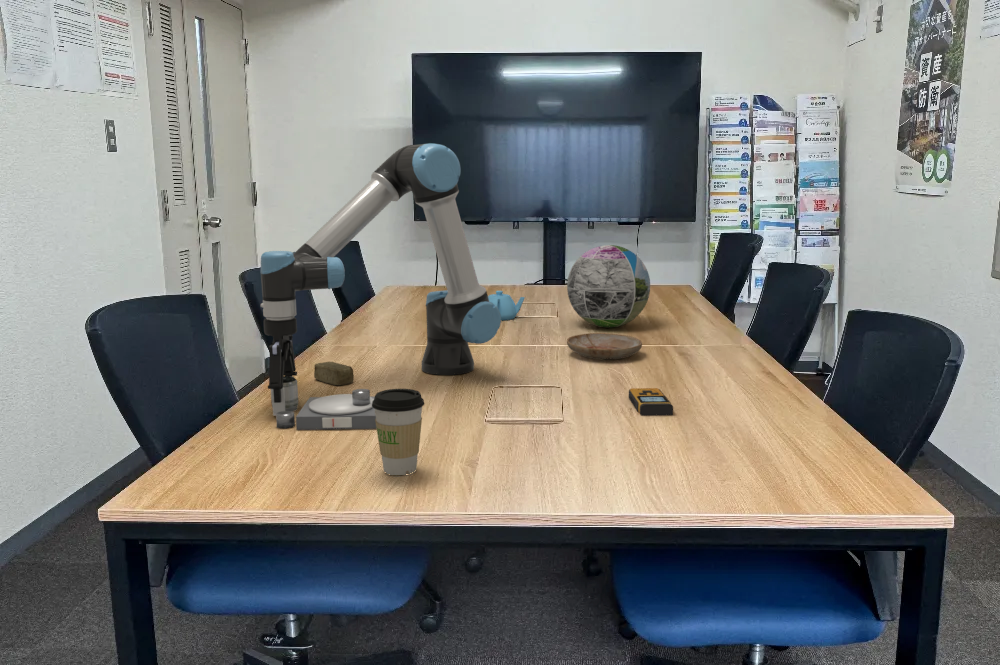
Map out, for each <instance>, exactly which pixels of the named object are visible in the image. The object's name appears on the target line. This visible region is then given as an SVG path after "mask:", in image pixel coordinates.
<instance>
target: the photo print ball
mask: <svg viewBox="0 0 1000 665" xmlns="http://www.w3.org/2000/svg"><path fill="white" fill-rule="evenodd" d="M566 285H567V286H566V289H567V290H566V291H567V295H568V300H569V303H570V305H571V307H572V309H573V310H574V311H575V313H576V314H577V315H578V316H579V317H580V318H581V319H582V320H584V321H585V322H586V323H589V324H591V325H593V326H596V327H600V328H608V329H609V328H610V329H611V328H618V327H622V326H623V325H626V324H628V323H630V322H632V321H633V320H634V319H636V318H637V317H638V316H639V315H640V314H641V313H642V311H643V310H644V309H645V307H646V305H647V303H648V300H649V297H650V293H651V279H650V275H649V271H648V269H647V267H646V265H645V264H644V262H643V260H642V259H641V258H640V257H639V256H638V255H636V254H635V252H633V251H632V250H630V249H628V248H625V247H622V246H619V245H614V244H603V245H599V246H596V247H593V248H590V249H588V250H587V251H585V252H584V253H582V254H581V255H580V256H579V257H578V259H576V261H575V262H574V264H573V265H572V267H571V268H570V271H569V274H568V277H567V283H566Z"/></svg>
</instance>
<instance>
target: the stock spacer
mask: <svg viewBox="0 0 1000 665" xmlns="http://www.w3.org/2000/svg"><path fill="white" fill-rule="evenodd" d="M275 418H276V422H275V423H276V428H277V429H282V430H288V429H293V428H294V427H296V416H295V411H293V412H292V411H282V412H278V413H276V416H275Z"/></svg>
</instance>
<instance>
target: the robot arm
mask: <svg viewBox="0 0 1000 665" xmlns="http://www.w3.org/2000/svg"><path fill="white" fill-rule="evenodd" d="M461 171H462V170H461V163H460V161H459V158H458V156H457V154H456V153H455V152H454V151H453V150H451V148H449V147H447V146H445V145H444V144H439V143H434V142H433V143H431V142H429V143H422V144H421V143H420V144H410V145H405V146H403V147H401V148H399V149H397V150H396V151H395V152H393V153H392V154H391V155H390V156H389V157H388V158H386V160H385V161H384V162H383V163H381V165H379V167H377V168H376V169H375V170H374V171H373V172H372V173H371V176H370V178H371V179H370V181H368V182H367V183H366V184H365V185H364V186H363V187H362V188H361V189H360V190H358V192H357V193H356V194H355V195H354V196H353V197H351V199H350V200H349V201H347V203H345V204H344V205H343V206H342V207H341V208H340V209H339V210H338V211H337V212H336V213H334V215H332V217H331V218H330V219H329V220H327V221H326V223H324V224H323V225H322V226H321V227H320V229H318V230H317V231H316V232H315V233H314V234H313V235H312V236H311V237H310V238H309V239H308V240H306V241H305V243H304V244H302V245H301V246H300V247H299V248H298V249H297V250H296V251H293V252H292V251H289V250H270V251H265V252H263V253H262V254H261V256H260V273H259V274H260V279H261V280H260V282H261V293H262V294H261V295H262V303H260V308H263V309H262V312H263V314H262V315H263V317H264V319H263V332H264V335H266V336H269V337H270V336H271V337H272V338H273V339H272V342H271V343H270V345H269V346H268V351H269V363H268V364H269V369H268V371H269V372H268V375H269V376H268V380H269V381H268V385H267V389H268V390H271V389H272V403H271V405H272V404H273V408H272V416H275V417H276V413H278V412H282V411H285V394H284V388H283V377H284V376H287V377H288V376H289V377H293V378H295V376H298V371H296V369H297V368H296V362H295V355H294V354H295V352H294V345H293V338H294V336H293V335H294V334H296V333H297V332H298V324H297V323H298V322H297V321H298V320H297V318H296V317H295V316H297V300H296V297H297V296H296V292H301V291H309V290H310V291H311V290H312V291H313V290H331V289H336V288H337V289H338V288H340V287H342V286H343V284H344V281H345V278H346V277H345V276H346V275H345V274H346V272H345V271H346V270H345V267H344V266H345V265H344V264H343V261H342V260H341V259H340V258H339V257H337V256H336V255H338V254H339V252H340V251H342V249H344V248H345V247H346V245H348V244H349V243H350V242H351V241H352V240H353V239H354V238H355V237H356V236H357V235H358V234H359V233H360V232H361V231H362V230H363V229H364V228H365V227H366V226H368V225H369V223H370V222H372V221H373V219H374V218H376V217H377V216H378V215H379V214H380V213H381V212H382V211H383V210H384V209H385V208H386V207H388V205H389V204H390V203H391V202H398V201H399V200H400V199H401V198H402V197H403V196H405V195H407V194H408V193H410V192H411V193H412V195H413V196H412V197H413V199H414V202H415V204H416V205H418V206H419V207H421V208H422V209H423V213H424V215H425V220H426V222H427V226H428V230H429V233H430V237H431V239H432V243H433V246H434V250H435V253H436V256H437V260H438V264H439V266H440V267H439V268H440V270H441V273H442V276H443V279H444V284H445V287H446V290H436V291H434V290H433V291H430V292H428V293H427V295H426V301H425V307H426V308H425V309H426V310H425V311H426V339H427V340H426V346H425V350H424V352H423V356H422V360H421V371H422V372H424V373H425V374H431V375H436V376H437V375H438V376H439V375H440V376H454V375H456V376H457V375H463V374H467V373H470V372H472V371H474V370H475V361H474V358H473V355H472V351H471V348H470V346H469V344H476V345H477V344H478V345H479V344H480V345H481V344H485V343H487V342H489V341H491V340H492V339H493V338H494V337H495V336H496V335H497V333H498V330H499V329H500V326H501V322H502V321H501V314H500V311H499V309H498V308H497V306H496V305H494V304H493V303H491V302H489V298H488V296H489V294H488V291H487V288H486V287H485V286H483V285H481V284H480V283H479V280H478V277H477V273H476V270H475V266H474V263H473V259H472V254H471V252H470V248H469V243H468V240H467V237H466V233H465V231H464V226H463V223H462V220H461V216H460V212H459V208H458V205H457V201H456V198H457V196H458V194H459V192H460V190H459V189H460V188H459V187H458V182H459V178H460V176H461V173H462V172H461ZM275 382H277V383H275Z"/></svg>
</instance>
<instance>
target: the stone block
mask: <svg viewBox="0 0 1000 665" xmlns="http://www.w3.org/2000/svg"><path fill="white" fill-rule="evenodd" d="M313 377H314V379H315V380H316V381H319V382H323V383H326V384H329V385H333V386H345V385H350V384H353V383H354V379H355V378H354V377H355V375H354V369H353V367H352V366H350V365H347V364H342V363H339V362H335V361H325V362H317V363H315V364H314V372H313Z"/></svg>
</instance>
